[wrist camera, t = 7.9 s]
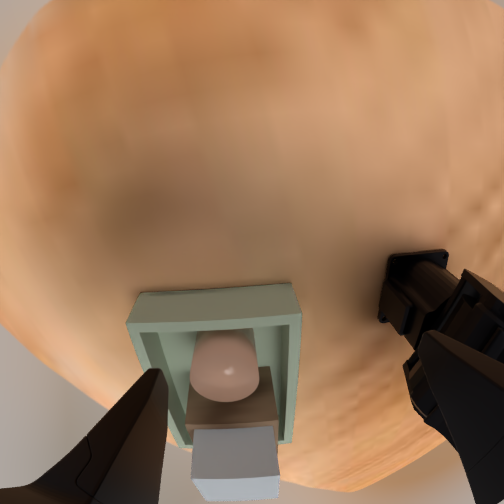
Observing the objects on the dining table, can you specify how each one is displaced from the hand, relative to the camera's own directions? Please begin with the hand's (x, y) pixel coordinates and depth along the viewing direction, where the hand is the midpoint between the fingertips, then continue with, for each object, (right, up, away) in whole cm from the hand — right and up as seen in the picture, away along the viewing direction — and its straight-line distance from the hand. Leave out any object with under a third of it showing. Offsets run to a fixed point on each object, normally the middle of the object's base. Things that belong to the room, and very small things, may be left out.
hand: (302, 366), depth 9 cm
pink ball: (-4, -3, +14) cm, 15 cm away
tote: (-4, -7, +16) cm, 18 cm away
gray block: (-3, -12, +12) cm, 17 cm away
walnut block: (-3, -10, +17) cm, 20 cm away
